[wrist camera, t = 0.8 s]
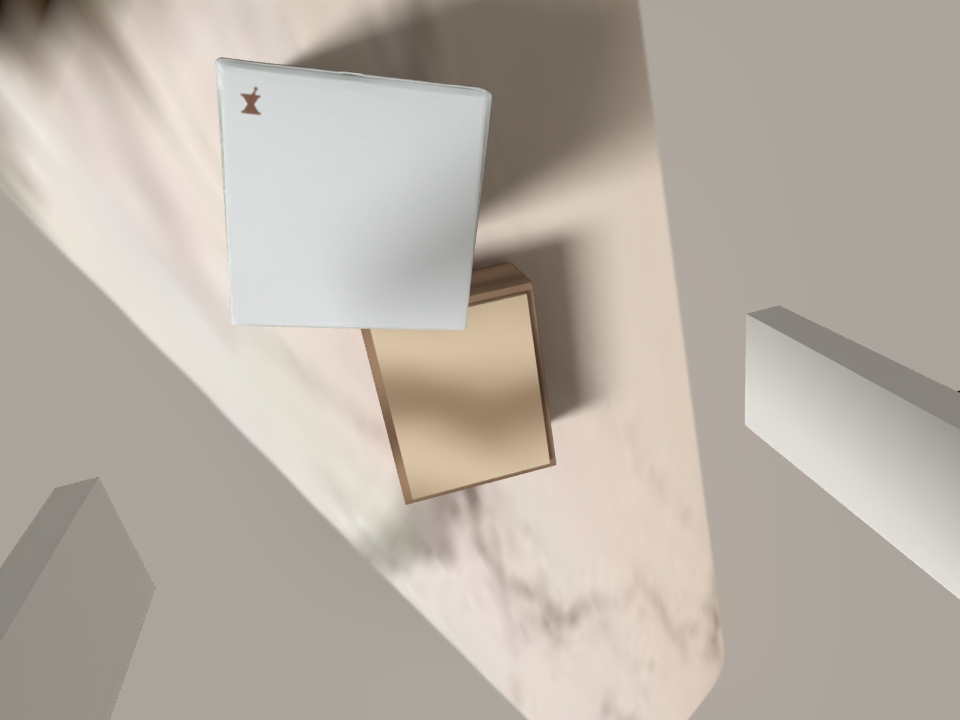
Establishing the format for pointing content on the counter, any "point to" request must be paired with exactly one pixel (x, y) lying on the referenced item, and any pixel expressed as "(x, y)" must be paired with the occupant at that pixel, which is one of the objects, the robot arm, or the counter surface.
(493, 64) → the counter surface
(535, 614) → the counter surface
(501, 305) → the brown wooden block
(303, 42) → the counter surface
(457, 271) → the supplement box
